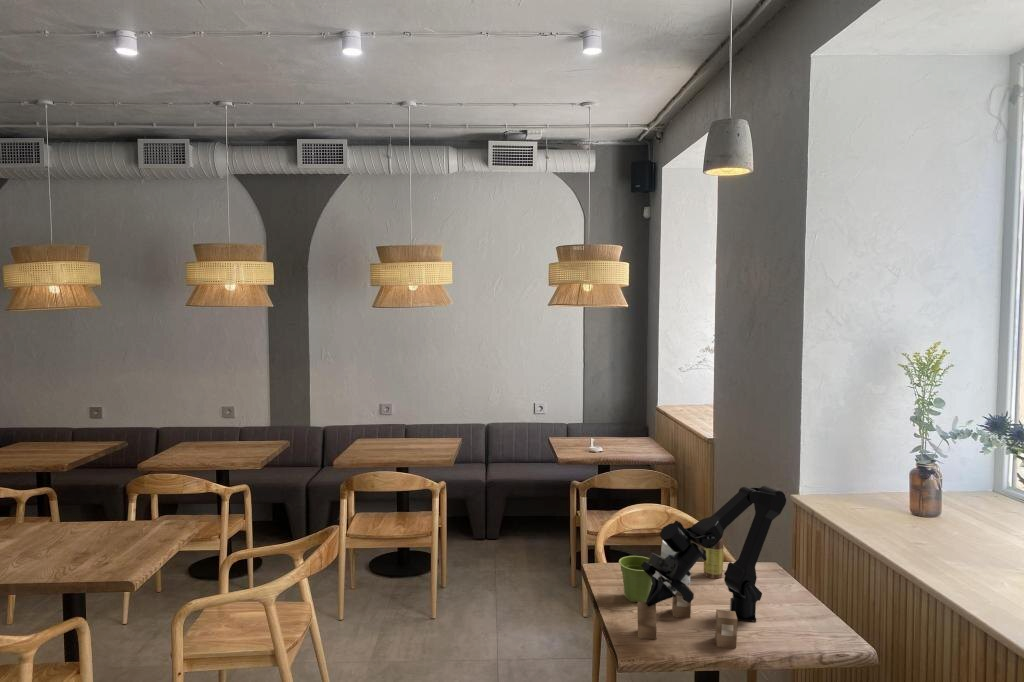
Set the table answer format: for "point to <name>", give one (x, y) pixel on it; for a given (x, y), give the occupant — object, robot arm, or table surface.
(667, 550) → the supplement tub
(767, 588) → the table surface
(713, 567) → the sauce bottle
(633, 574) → the plant pot
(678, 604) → the marked block
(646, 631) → the plain block
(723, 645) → the marked block
